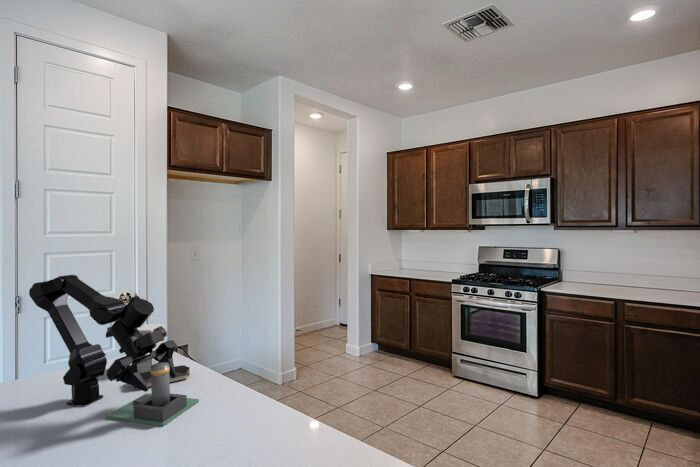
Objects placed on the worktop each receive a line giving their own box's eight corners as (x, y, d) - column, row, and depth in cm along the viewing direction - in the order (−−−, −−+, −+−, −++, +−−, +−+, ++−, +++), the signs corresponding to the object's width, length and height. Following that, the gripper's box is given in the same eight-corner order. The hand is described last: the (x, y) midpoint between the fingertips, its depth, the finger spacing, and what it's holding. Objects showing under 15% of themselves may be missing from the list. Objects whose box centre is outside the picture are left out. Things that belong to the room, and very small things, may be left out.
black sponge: (134, 392, 120) (134, 380, 120) (132, 383, 128) (132, 372, 127) (191, 380, 129) (191, 369, 129) (186, 372, 137) (186, 362, 136)
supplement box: (167, 364, 144) (165, 323, 144) (152, 373, 135) (151, 330, 135) (143, 364, 145) (142, 323, 145) (127, 373, 136) (126, 330, 136)
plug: (148, 416, 103) (146, 368, 103) (156, 407, 107) (155, 362, 107) (165, 415, 103) (164, 368, 103) (173, 407, 107) (172, 362, 107)
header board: (106, 418, 104) (105, 404, 104) (146, 395, 117) (146, 383, 117) (163, 426, 99) (163, 411, 99) (198, 402, 112) (198, 388, 112)
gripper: (113, 328, 98) (148, 377, 94) (171, 312, 115) (203, 353, 111) (91, 356, 100) (124, 405, 97) (151, 336, 118) (181, 377, 114)
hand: (161, 383), depth 105 cm, fingers open, 9 cm apart
